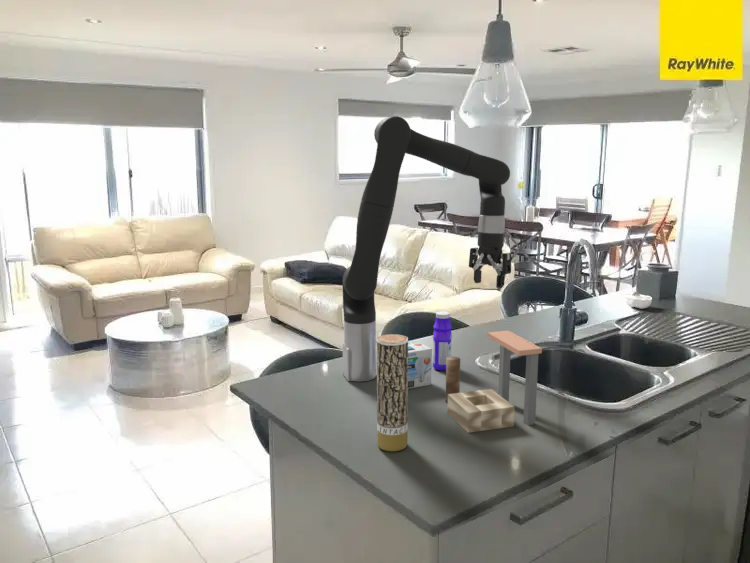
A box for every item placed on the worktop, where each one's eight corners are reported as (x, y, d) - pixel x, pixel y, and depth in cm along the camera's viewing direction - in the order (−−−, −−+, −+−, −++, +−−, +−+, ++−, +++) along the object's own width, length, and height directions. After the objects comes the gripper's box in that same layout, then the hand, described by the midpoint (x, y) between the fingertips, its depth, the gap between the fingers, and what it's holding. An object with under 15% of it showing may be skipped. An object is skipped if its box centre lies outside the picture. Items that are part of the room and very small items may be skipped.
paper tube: (376, 439, 141) (375, 334, 136) (405, 438, 141) (405, 333, 136) (378, 453, 134) (378, 343, 129) (409, 452, 135) (410, 342, 130)
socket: (467, 432, 144) (468, 412, 143) (447, 412, 155) (447, 394, 154) (513, 426, 147) (514, 406, 146) (490, 407, 159) (491, 388, 158)
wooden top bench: (515, 427, 147) (519, 350, 143) (485, 402, 162) (487, 332, 158) (538, 424, 148) (541, 348, 144) (505, 400, 163) (508, 330, 159)
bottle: (450, 372, 185) (451, 316, 181) (431, 371, 186) (432, 315, 182) (452, 364, 192) (453, 310, 188) (434, 363, 193) (434, 309, 189)
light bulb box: (399, 391, 170) (399, 353, 168) (388, 383, 176) (388, 347, 174) (432, 384, 175) (432, 348, 173) (420, 377, 181) (420, 342, 179)
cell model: (637, 312, 255) (638, 296, 253) (618, 305, 266) (619, 290, 265) (657, 310, 257) (659, 294, 256) (638, 304, 269) (639, 288, 267)
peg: (448, 405, 160) (449, 361, 158) (443, 400, 163) (444, 357, 161) (461, 404, 161) (462, 360, 159) (455, 398, 164) (456, 356, 162)
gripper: (464, 229, 182) (462, 282, 185) (501, 233, 171) (498, 291, 174) (481, 227, 186) (479, 280, 189) (519, 232, 175) (515, 287, 178)
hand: (488, 285), depth 182 cm, fingers open, 8 cm apart
